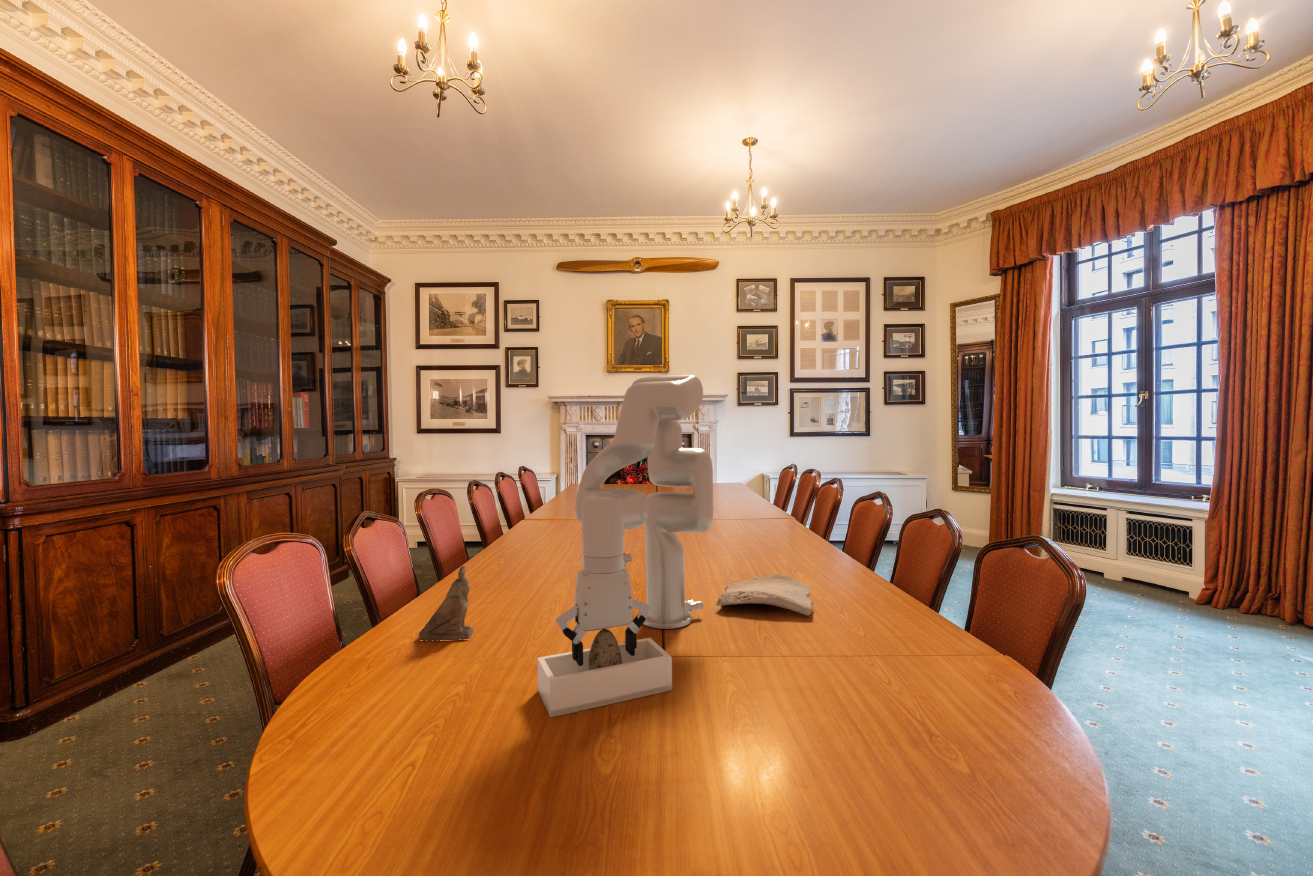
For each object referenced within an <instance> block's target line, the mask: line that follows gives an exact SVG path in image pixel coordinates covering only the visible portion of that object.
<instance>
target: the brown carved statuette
mask: <svg viewBox="0 0 1313 876" xmlns="http://www.w3.org/2000/svg"><path fill="white" fill-rule="evenodd" d="M466 570H467V568H466V566H465V565H462V566H461V567H460V568H459V570H458V574H457V575H458V576H457V577H458V578H456V579H455V580H454V581H453V582H452V584H451V585H450V587H449V589H448V592H447V593H446V596H445V598H444V599H443V601H442V602H441V603H440V605H439V606H438V607H437V609H436V611H435V612H434V613H433V614H432V615H431V617H430V619H429V620H428V622H427V623H425V625H424V626H423V627H422V629H420V631H419V633H418V639H419V640H423V641H426V640H427V641H432V640H433V641H437V640H438V641H440V640H459V639H469V638H470V637H471V636H472V634H473V633H474V634H475V629H474V628H473V627H472V626H467V625H466V624H465V623H466V621H465V620H466V619H465V618H466V616H467V612H468V610H469V609H468V608H469V592H470V586H469V582H470V581H469V579H468V578H467V577H466V576H465V575H466V572H467V571H466ZM472 637H473V636H472ZM472 637H471V638H472ZM471 638H470V639H471ZM418 639H417V640H418ZM433 641H432V642H433Z"/></svg>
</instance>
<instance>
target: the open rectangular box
mask: <svg viewBox="0 0 1313 876" xmlns="http://www.w3.org/2000/svg"><path fill="white" fill-rule="evenodd" d="M617 643H618V646H619V649H620V653H621V659H622V664H620V665H615V666H610V667H604V668H599V669H594V670H589V665H588V663H589V654H590V650H591V647H590V648H585V649H584V648H583V665H582V666H579V665H578V664H577V662H576V661H575V660H573V658H572V651H569V652H563V653H557V654H556V653H555V654H551V655H546V656H545V655H544V656H539V657H537V692H538V694H539V697H540V698H541V701H542V702H543V705H544V707H545V709H546V711H547V713H548V716H549V717H550V718H554V717H559V716H560V717H561V716H564V715H568V714H572V713H577V712H581V711H585V710H591V709H595V708H600V707H603V706H604V707H605V706H608V705H612V704H617V703H621V702H625V701H631V700H634V699H639V698H643V697H647V696H652V695H656V694H661V693H666V692H670V691H673V658H672V656H671V655H670V653H668V652H667V651H666V650H664V648H662V647H661V646H660V645H659V644H658V643H656V641H654V639H652V638H651V637H646V638H640V639H637V648H636V649H635V655H634V656H631V655H630V654H629V653H628V652H627V651H626V649H625V641H624V642H617Z"/></svg>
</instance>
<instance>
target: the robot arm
mask: <svg viewBox="0 0 1313 876" xmlns="http://www.w3.org/2000/svg"><path fill="white" fill-rule="evenodd" d="M703 398H704V388H703V385H702V382H701V379H700V378H699V377H698V376H696V375H694V374H677V375H676V374H675V375H656V376H655V375H653V376H652V375H651V376H645V377H640V378H637V379H636V380H634V381H633V382H632V384H631V386H629V387H628V388H627V389H626V391H625V393H624V396H623V401H622V404H621V408H620V411H619V416H618V420H617V424H616V428H615V432H614V437H613V440H612V441H611V442H610V443H609V444H607V445H606V446H604V447H603V449H601V450H600V451H598V453H597V454H596V455H595V456H594V457H593V459H591V460H590V462H589V463H588V464H587V466H586V467H585V469H584V471H583V473H582V476H581V479H580V482H579V486H578V489H577V493H576V498H575V505H574V506H575V507H574V511H575V516H576V518H577V520H578V522H579V523H580V524H581V539H582V541H581V542H582V544H581V545H582V547H581V548H582V550H581V551H582V554H581V555H582V570H579V571H577V576H576V583H575V590H574V602H573V606H572V607H571V608H569V609H568V610H566V611H565V612H564V613H562V614H561V615H559V616H557V617H556V619H555V622H556V623H557V625H558V627H559V629H560V630H561V632H562V633H563V635H564V636H565V638H567V639H569V640H570V641H571V652H572V658H573V660H575V661H576V662H577V664H578V665H579V666H582V665H583V650H584V644H583V642H582V639H583V637H584V636H585V635H586V634H587V632H593V631H598V630H599V631H600V630H602V629H612V628H617V627H622V626H626V628H625V631H624V642H625V649H626V651H627V652H628V653H629V654H630V655H631V656H634V655H635V649H636V648H637V640H638V638H637V637H638V635H637V634H639V631H640V628H641V627H642V626H643V625H644V626H646V627H650V628H653V629H657V630H658V629H660V630H661V629H662V630H670V629H672V630H673V629H678V628H682V627H686V626H688V625H690V624H691V622H692V620H693V619H692V614H691V612H693V611H698V610H703V608H704V603H703V601H700V600H699V601H694V600H693V599H691V600H686V574H685V573H686V571H685V569H686V566H685V565H686V562H685V558H686V557H685V547H684V545H683V543H682V541H681V539H680V537H679V536H678V534H677V533H698V534H699V533H702V534H703V533H705V532H708V531H709V530H710V529H711V527H712V525H713V522H714V521H713V519H714V470H713V469H714V468H713V461H712V457H711V454H710V453H709V452H708V451H707V450H705V449H704V448H699V447H683V429H682V425H681V423H680V421H681V420H685V419H688V418H689V417H690V416H692V415H693V414H695V412H696V411H697V410H698V409H699V408H700V407H701V405H702V403H703ZM646 458H647V473H648V474H647V475H648V478H649V482H651V484H653V485H654V486H658V487H667V488H668V487H669V488H670V487H671V488H690V489H691V491H692V492H678V491H674V492H673V491H657V492H652V493H650V494H648V495H646V494H645V493H644V492H642V491H641V490H639V489H632V488H630V489H629V488H611V487H610V488H607V487H605V488H602V487H603V484H604V483H605V482H606V480H607V479H608V478H609V477H611V475H614V474H615V473H616V472H618V471H620V470H622V469H624V468H626V467H629V466H630V465H634V464H636V463H638V462H640V461H642V460H644V459H646ZM641 526H643V528H644V530H643V531H644V536H645V537H644V538H645V565H646V566H645V569H646V570H645V572H646V573H645V579H646V580H645V581H646V591H645V592H646V603H645V602H642V601H641V600H638V599H635V598H633V591H632V586H631V585H632V584H631V578H630V574H629V570H628V568H627V565H626V564H627V563H628V562H631V561H632V560H633V559H632V558H633V557H632V554H631V553H626V552H625V531H626V530H634V529H638V528H640V527H641ZM634 608H635V609H638V610H639V611H638V614H636V616H635V617H634ZM572 619H573V620H574V623H575V624H576V625H575V626H574V627H573V629H571V628H570V627H569V626H568V622H569V621H571V620H572Z"/></svg>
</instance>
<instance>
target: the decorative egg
mask: <svg viewBox="0 0 1313 876" xmlns="http://www.w3.org/2000/svg"><path fill="white" fill-rule="evenodd" d="M618 643H619V642H618V640H617V638H616V637H615V635H614V634H613V632H612V631H611V630H609V628H606V629H600V630H599V631H598V632H597V633H596V635H595V636H594V638H593V641H592V644H591V647H590V648H591V650H590V654H589V663H588V665H589V670H594V669H599V668H604V667H610V666H615V665H620V664H622V659H621V653H620V649H619V646H618Z"/></svg>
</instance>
